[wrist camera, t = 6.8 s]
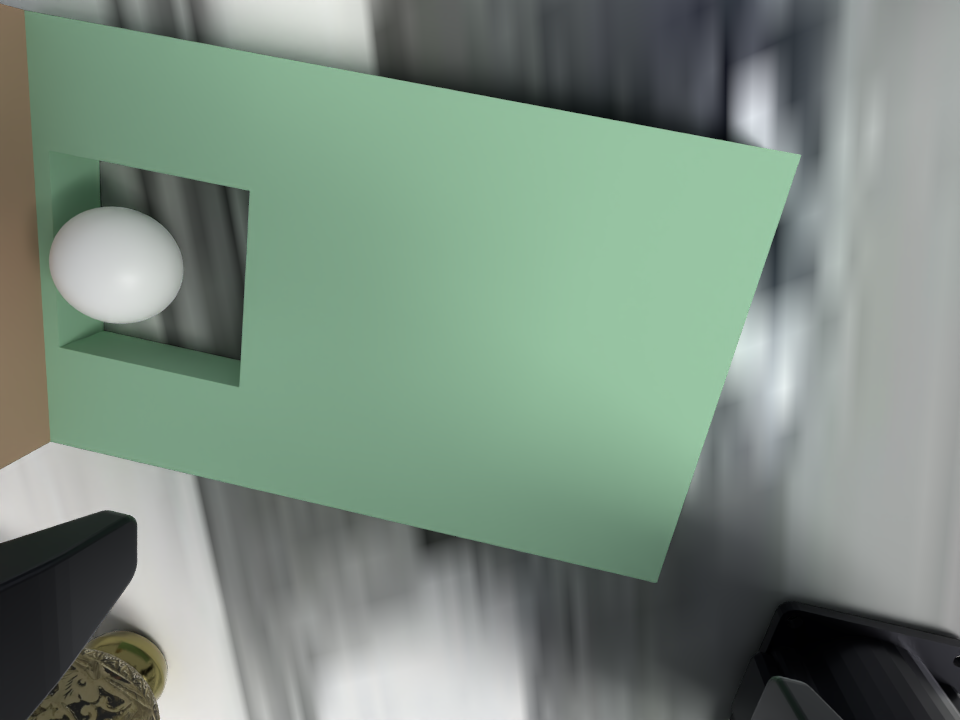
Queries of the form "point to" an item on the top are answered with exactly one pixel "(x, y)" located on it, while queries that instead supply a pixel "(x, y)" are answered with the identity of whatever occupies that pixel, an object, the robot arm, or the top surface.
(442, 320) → the green slab with hole
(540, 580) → the top surface
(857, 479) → the top surface
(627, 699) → the top surface
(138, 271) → the ball
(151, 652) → the cup
